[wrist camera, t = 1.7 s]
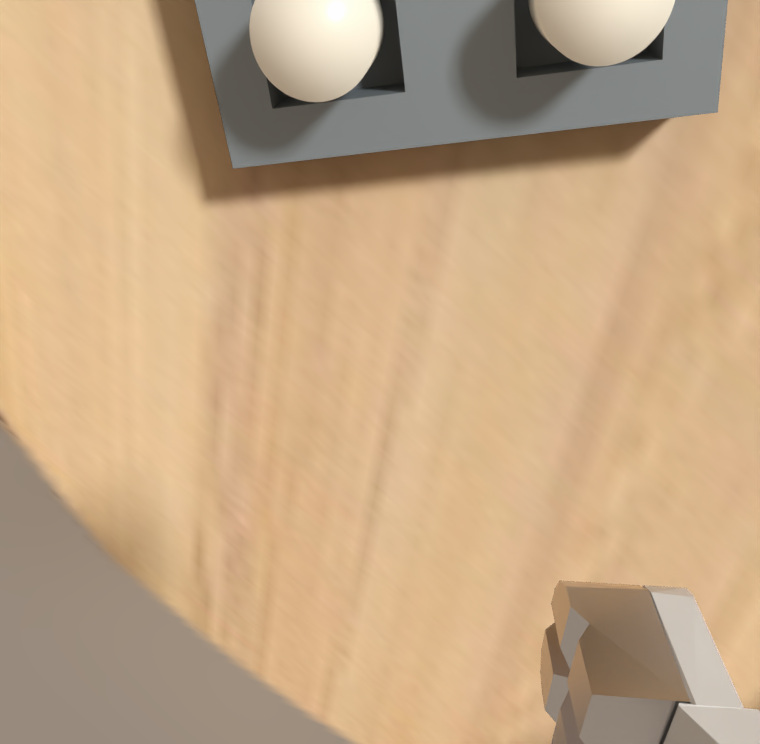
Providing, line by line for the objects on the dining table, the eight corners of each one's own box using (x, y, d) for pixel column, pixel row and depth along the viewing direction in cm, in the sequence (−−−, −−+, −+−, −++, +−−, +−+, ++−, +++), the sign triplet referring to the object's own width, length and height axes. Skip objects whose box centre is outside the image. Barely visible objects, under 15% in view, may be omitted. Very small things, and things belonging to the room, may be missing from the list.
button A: (376, -48, 25) (366, -48, 22) (390, 77, 27) (383, 94, 24) (262, -30, 25) (236, -28, 22) (284, 91, 27) (263, 109, 24)
